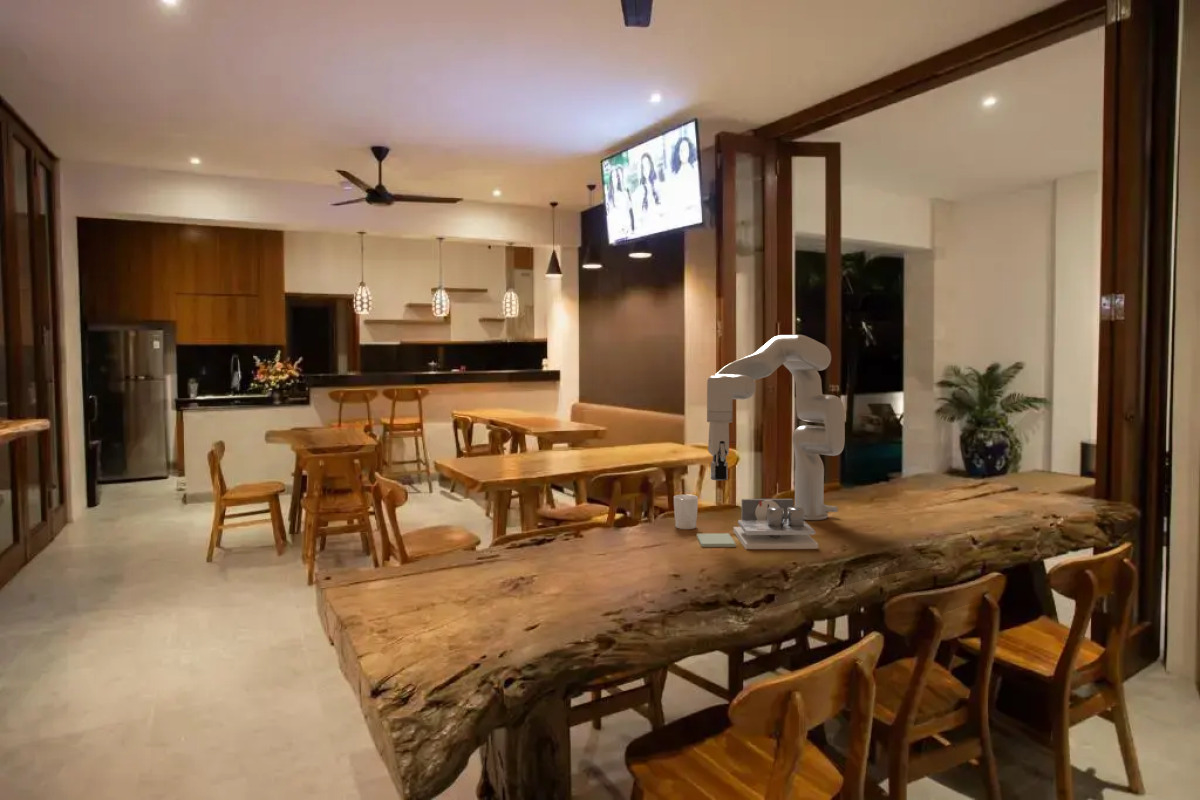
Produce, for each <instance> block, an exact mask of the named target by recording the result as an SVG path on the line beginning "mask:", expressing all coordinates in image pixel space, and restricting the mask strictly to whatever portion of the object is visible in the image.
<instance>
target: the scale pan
mask: <svg viewBox="0 0 1200 800" xmlns="http://www.w3.org/2000/svg"><path fill="white" fill-rule="evenodd" d="M737 524H738V527H741V528H742V530H743V531H744V532H745V534H746V535H809V536H813V535H816V530H815V529H814V528H813V527H812V526H810V525H809V524H808V523H807V522H806V520H804V526H802V527H791V526H788V525H787V520H784V526H782V527H771V526H768V525H767V520H741V519H738V521H737Z"/></svg>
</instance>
